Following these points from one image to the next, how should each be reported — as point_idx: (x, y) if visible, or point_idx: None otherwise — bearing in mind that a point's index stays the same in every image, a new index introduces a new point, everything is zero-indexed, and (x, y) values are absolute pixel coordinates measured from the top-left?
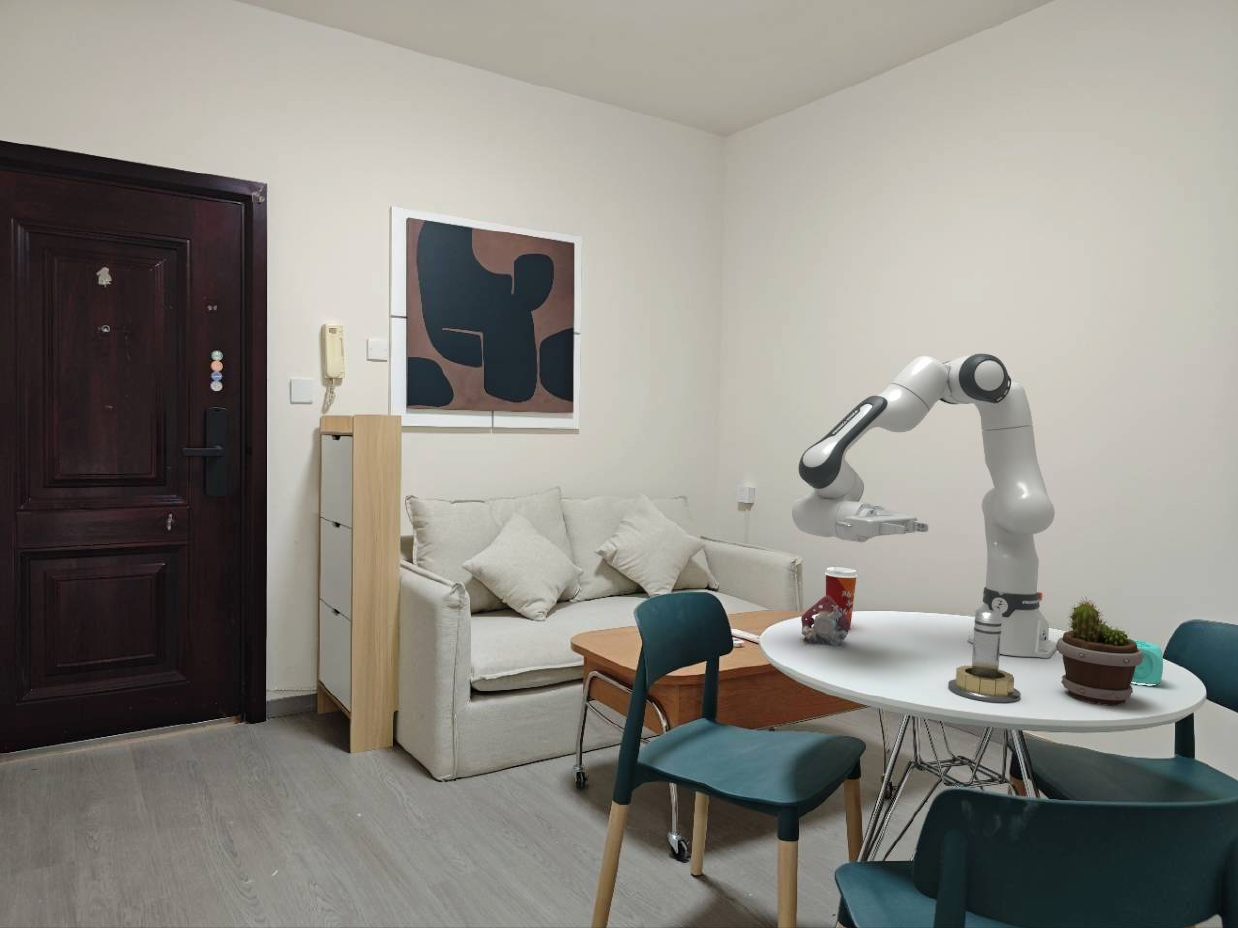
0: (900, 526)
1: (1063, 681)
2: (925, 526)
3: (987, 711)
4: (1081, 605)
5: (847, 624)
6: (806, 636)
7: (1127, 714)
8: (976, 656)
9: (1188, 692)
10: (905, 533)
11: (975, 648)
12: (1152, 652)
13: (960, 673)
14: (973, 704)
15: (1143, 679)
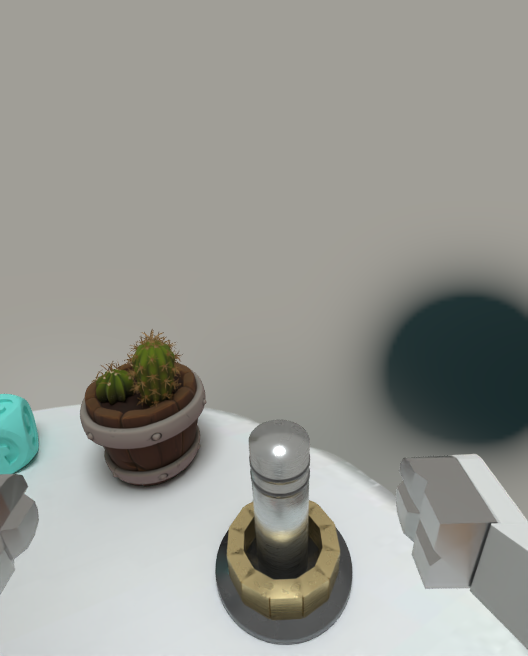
0: (486, 473)
1: (172, 470)
2: (21, 481)
3: (381, 510)
4: (157, 346)
5: None
6: None
7: (211, 419)
8: (307, 522)
9: (43, 413)
10: (397, 508)
11: (306, 514)
12: (23, 399)
13: (333, 569)
14: (373, 539)
15: (35, 437)
